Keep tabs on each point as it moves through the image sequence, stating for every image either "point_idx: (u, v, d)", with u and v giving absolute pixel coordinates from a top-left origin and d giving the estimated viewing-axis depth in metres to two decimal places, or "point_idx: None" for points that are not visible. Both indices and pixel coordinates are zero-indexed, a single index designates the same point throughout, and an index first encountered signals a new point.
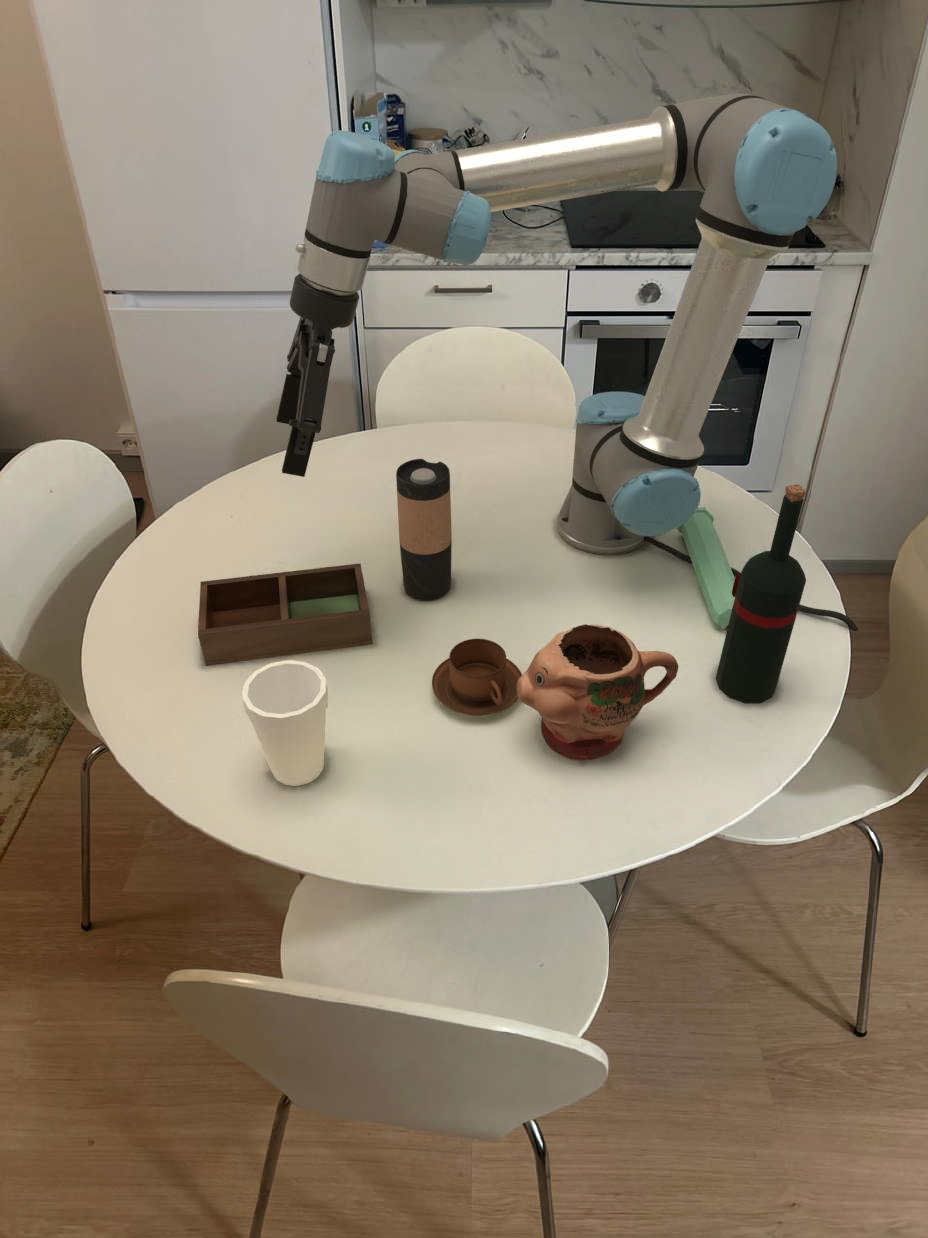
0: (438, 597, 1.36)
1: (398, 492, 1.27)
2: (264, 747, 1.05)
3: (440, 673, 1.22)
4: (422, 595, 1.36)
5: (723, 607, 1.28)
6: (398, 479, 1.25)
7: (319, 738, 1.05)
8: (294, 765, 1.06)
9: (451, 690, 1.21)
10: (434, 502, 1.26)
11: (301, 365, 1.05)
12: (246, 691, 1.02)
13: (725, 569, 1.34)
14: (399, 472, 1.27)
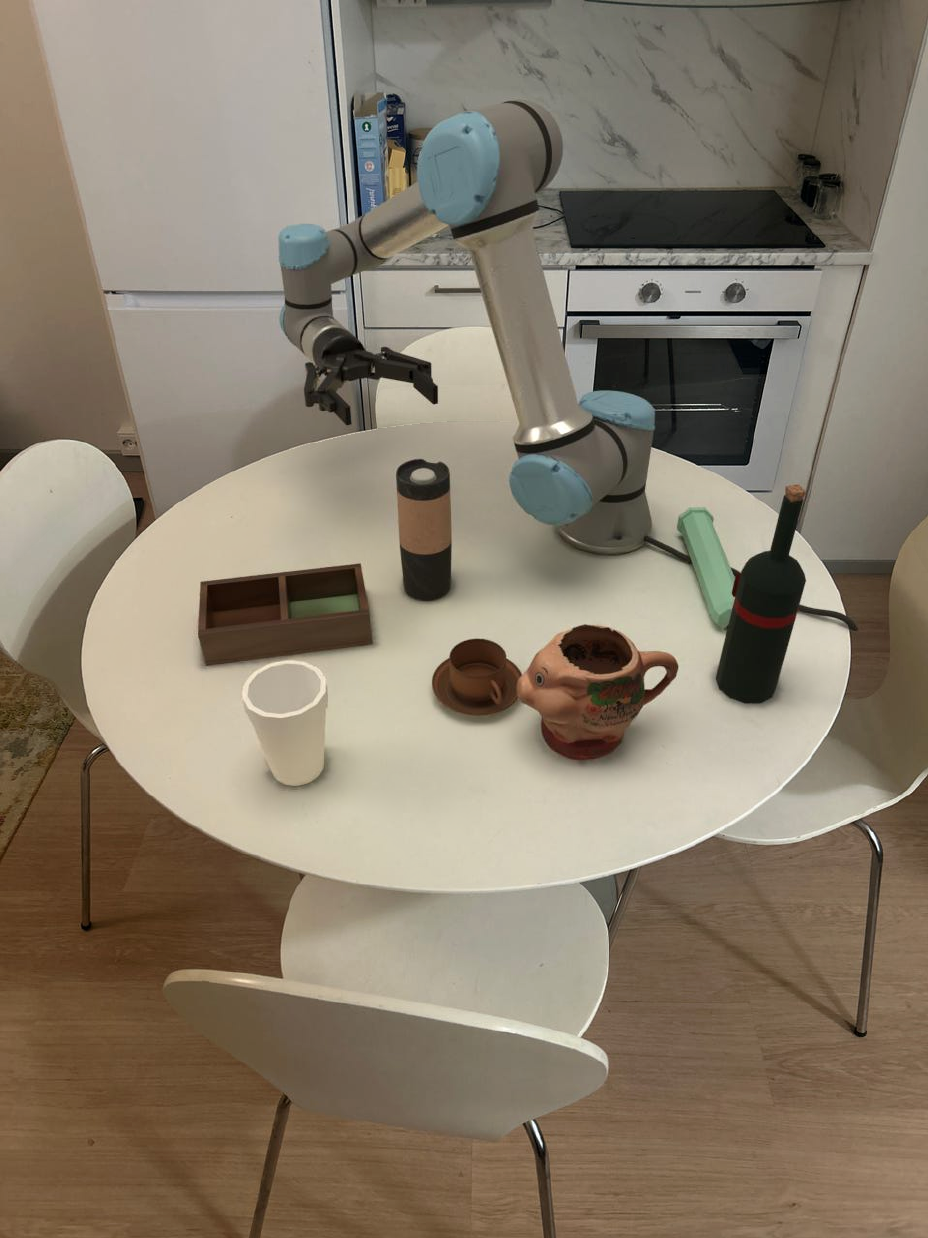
0: (438, 597, 1.36)
1: (398, 492, 1.27)
2: (264, 747, 1.05)
3: (440, 673, 1.22)
4: (422, 595, 1.36)
5: (723, 607, 1.28)
6: (398, 479, 1.25)
7: (319, 738, 1.05)
8: (294, 765, 1.06)
9: (451, 690, 1.21)
10: (434, 502, 1.26)
11: None
12: (246, 691, 1.02)
13: (725, 569, 1.34)
14: (399, 472, 1.27)
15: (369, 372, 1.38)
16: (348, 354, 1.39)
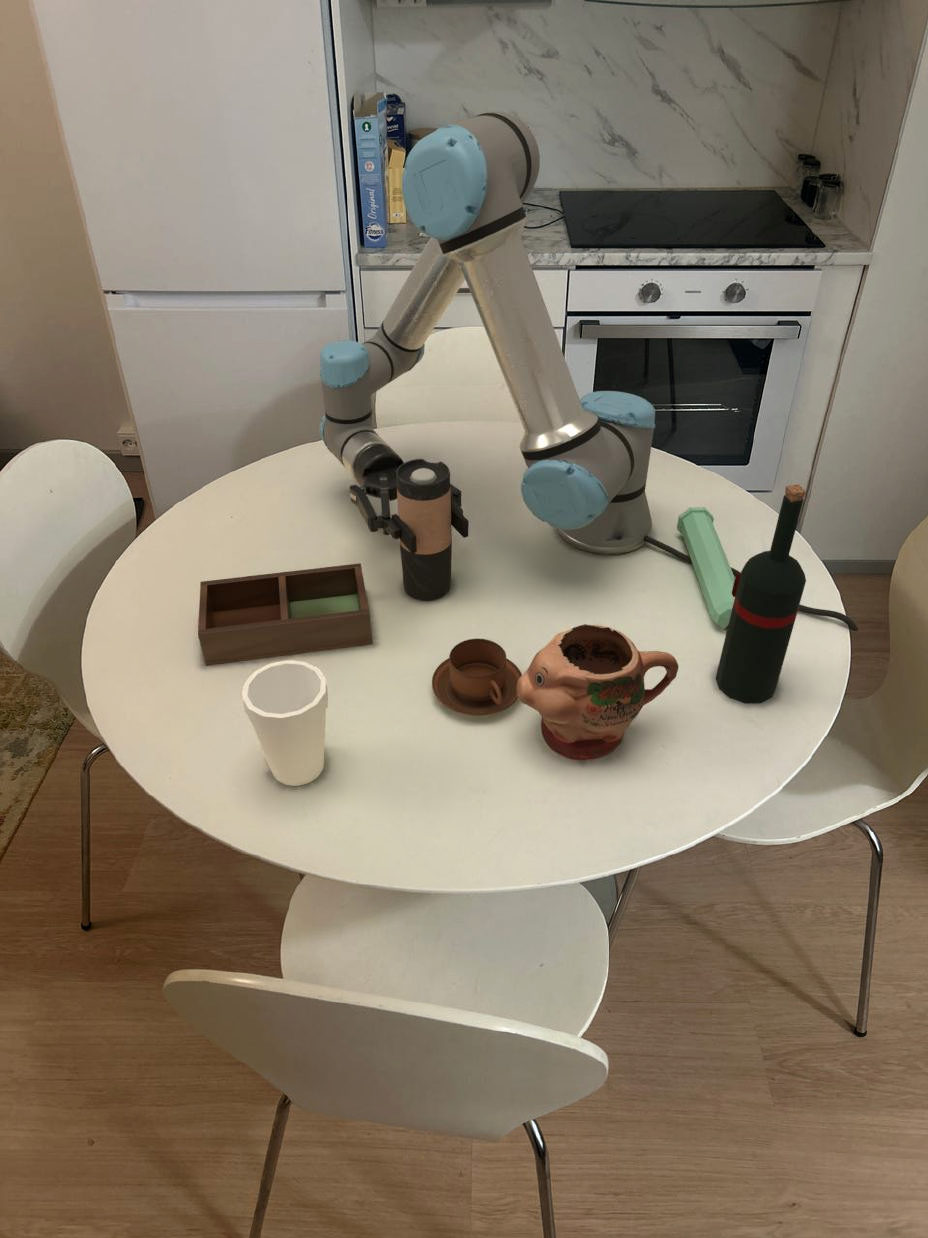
0: (438, 597, 1.36)
1: (398, 492, 1.27)
2: (264, 747, 1.05)
3: (440, 673, 1.22)
4: (422, 595, 1.36)
5: (723, 607, 1.28)
6: (398, 479, 1.25)
7: (319, 738, 1.05)
8: (294, 765, 1.06)
9: (451, 690, 1.21)
10: (434, 502, 1.26)
11: None
12: (246, 691, 1.02)
13: (725, 569, 1.34)
14: (399, 472, 1.27)
15: None
16: (389, 471, 1.40)
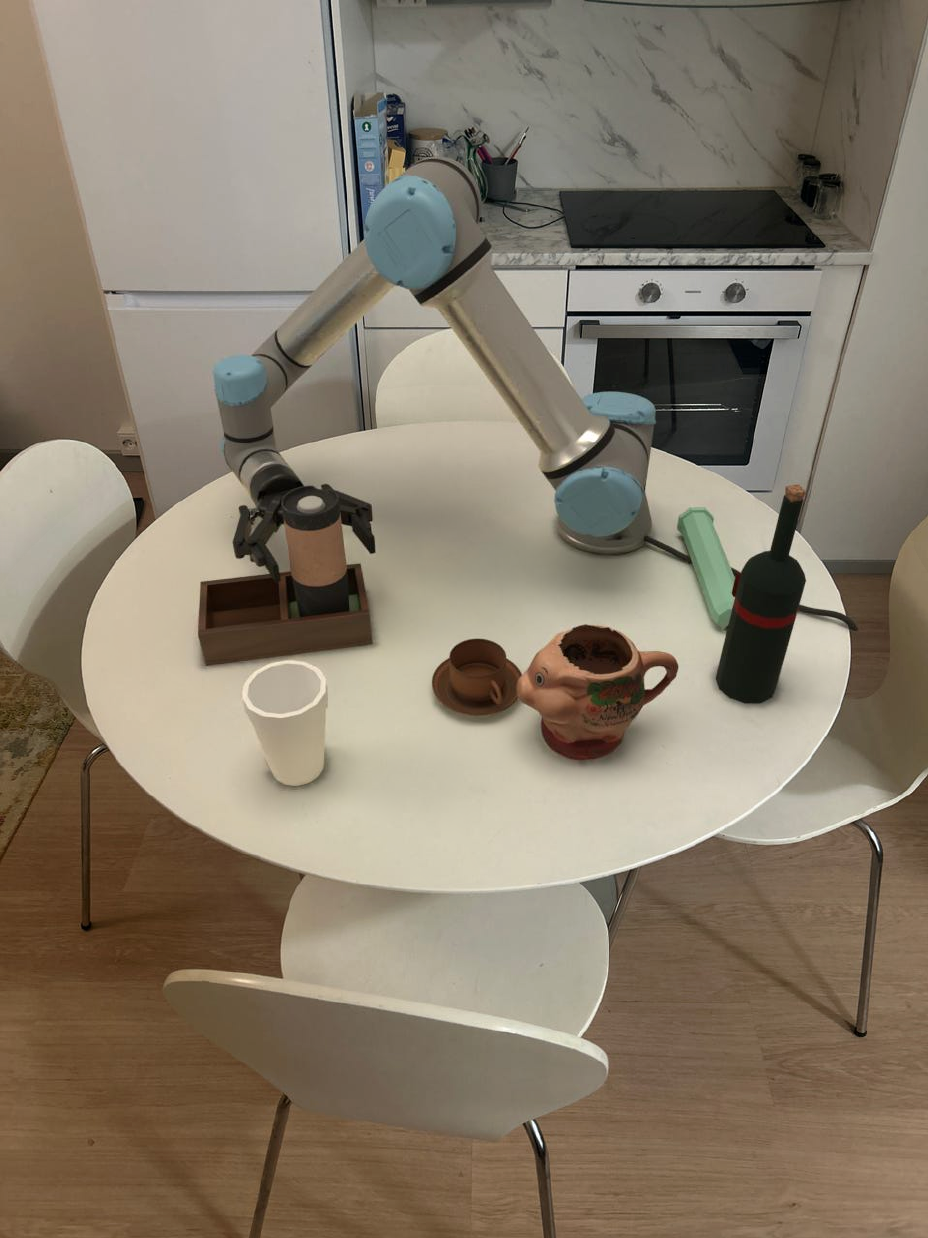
0: None
1: (284, 521, 1.20)
2: (264, 747, 1.05)
3: (440, 673, 1.22)
4: None
5: (723, 607, 1.28)
6: (283, 508, 1.18)
7: (319, 738, 1.05)
8: (294, 765, 1.06)
9: (451, 690, 1.21)
10: (321, 532, 1.19)
11: None
12: (246, 691, 1.02)
13: (725, 569, 1.34)
14: (286, 500, 1.20)
15: None
16: None
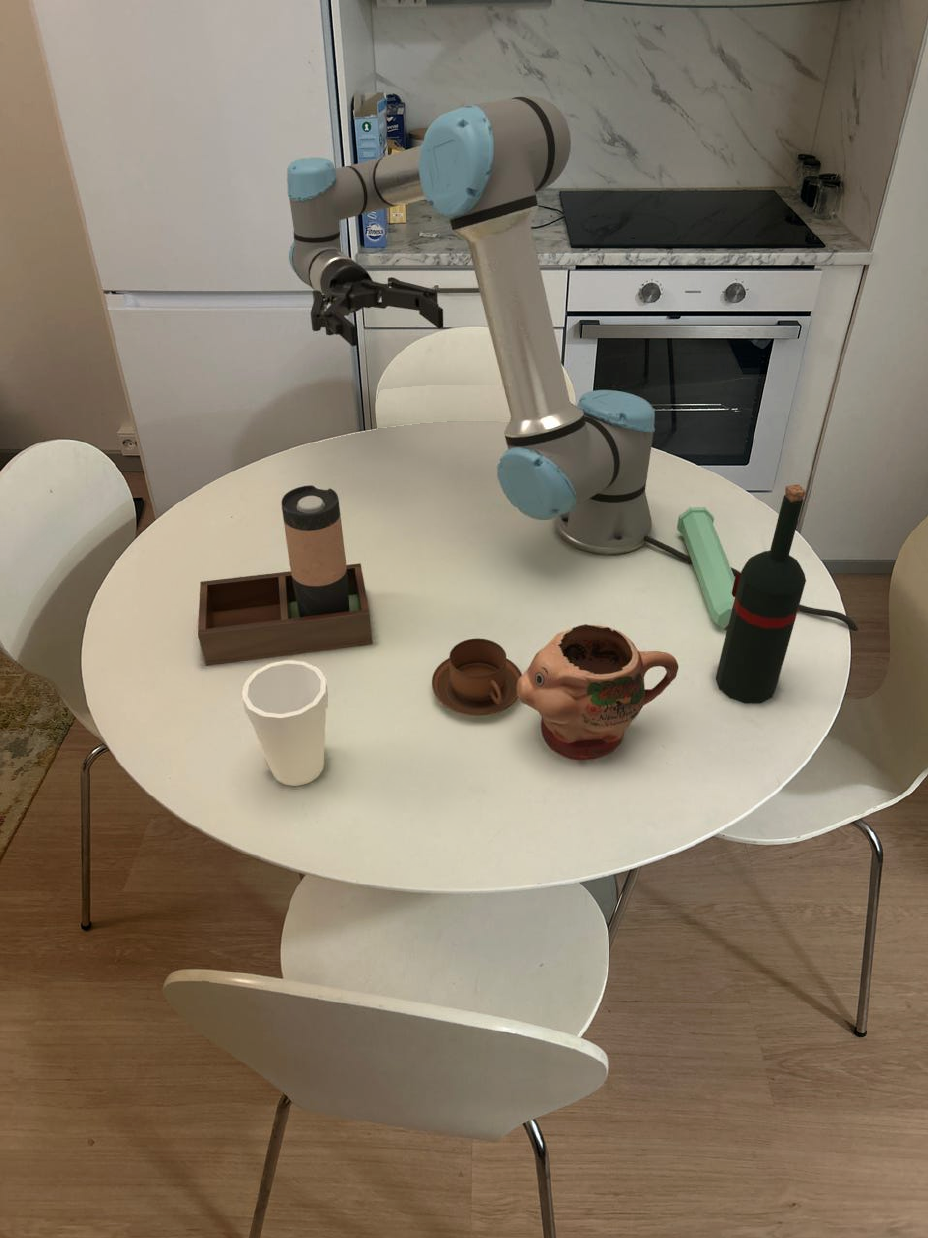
0: None
1: (284, 521, 1.20)
2: (264, 747, 1.05)
3: (440, 673, 1.22)
4: None
5: (723, 607, 1.28)
6: (282, 508, 1.18)
7: (319, 738, 1.05)
8: (294, 765, 1.06)
9: (451, 690, 1.21)
10: (320, 532, 1.19)
11: None
12: (246, 691, 1.02)
13: (725, 569, 1.34)
14: (286, 500, 1.20)
15: (376, 300, 1.39)
16: (355, 283, 1.41)
